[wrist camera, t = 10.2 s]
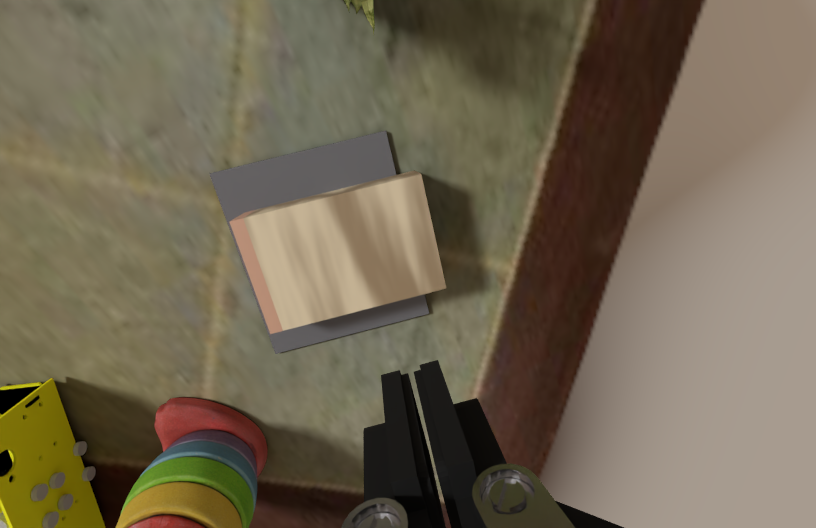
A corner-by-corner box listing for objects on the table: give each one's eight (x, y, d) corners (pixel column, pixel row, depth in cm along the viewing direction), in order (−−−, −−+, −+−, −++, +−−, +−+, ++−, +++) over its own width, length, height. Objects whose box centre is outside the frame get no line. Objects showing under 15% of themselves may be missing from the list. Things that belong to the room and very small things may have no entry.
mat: (385, 130, 33) (385, 130, 33) (428, 311, 38) (429, 313, 38) (211, 173, 33) (209, 173, 33) (276, 351, 38) (275, 353, 37)
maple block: (421, 174, 30) (229, 221, 30) (446, 288, 33) (270, 334, 32) (414, 170, 34) (244, 212, 34) (437, 273, 37) (279, 314, 36)
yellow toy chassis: (115, 519, 41) (55, 611, 33) (53, 527, 40) (-24, 623, 32) (65, 372, 36) (-18, 437, 28) (-6, 380, 36) (-112, 449, 28)
